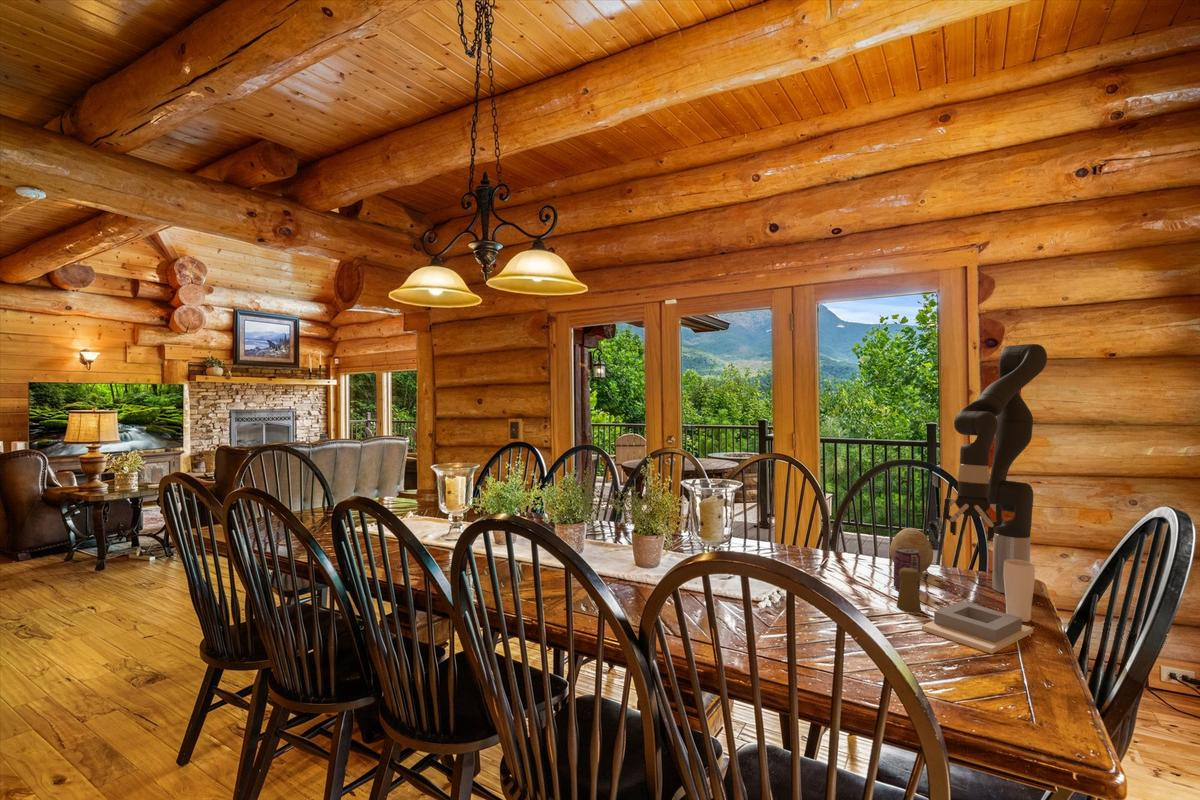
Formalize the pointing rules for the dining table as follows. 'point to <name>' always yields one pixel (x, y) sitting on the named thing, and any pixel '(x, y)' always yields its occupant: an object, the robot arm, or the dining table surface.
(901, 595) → the cork
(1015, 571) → the drinking glass
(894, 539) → the fossilized egg
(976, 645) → the socket board
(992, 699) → the dining table surface
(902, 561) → the beverage can
